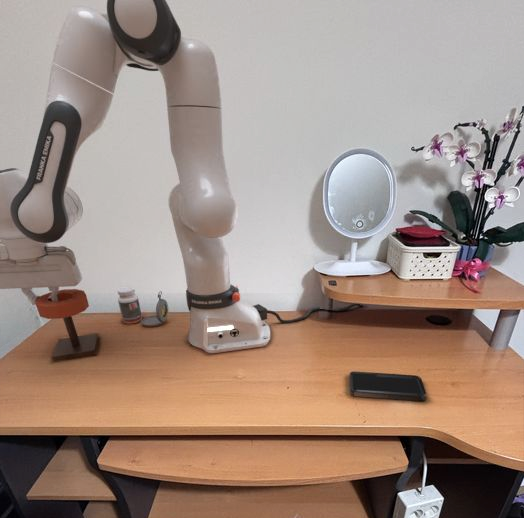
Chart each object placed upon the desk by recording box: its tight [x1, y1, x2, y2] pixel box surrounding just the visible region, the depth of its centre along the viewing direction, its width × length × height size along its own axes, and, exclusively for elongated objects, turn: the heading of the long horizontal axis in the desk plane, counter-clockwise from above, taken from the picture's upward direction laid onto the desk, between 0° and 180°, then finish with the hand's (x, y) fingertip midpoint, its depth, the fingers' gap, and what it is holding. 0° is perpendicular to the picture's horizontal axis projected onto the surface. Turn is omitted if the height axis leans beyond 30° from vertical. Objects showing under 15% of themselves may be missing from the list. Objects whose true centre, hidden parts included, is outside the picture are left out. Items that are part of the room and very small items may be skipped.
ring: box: [35, 288, 90, 320], centre depth 93 cm, size 11×11×3 cm
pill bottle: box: [117, 286, 143, 325], centre depth 112 cm, size 6×6×10 cm
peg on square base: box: [51, 316, 100, 362], centre depth 97 cm, size 10×10×12 cm
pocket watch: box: [140, 291, 169, 328], centre depth 109 cm, size 8×8×10 cm
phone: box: [348, 370, 427, 402], centre depth 80 cm, size 8×1×15 cm
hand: (45, 303), depth 93 cm, fingers closed on ring, 3 cm apart
